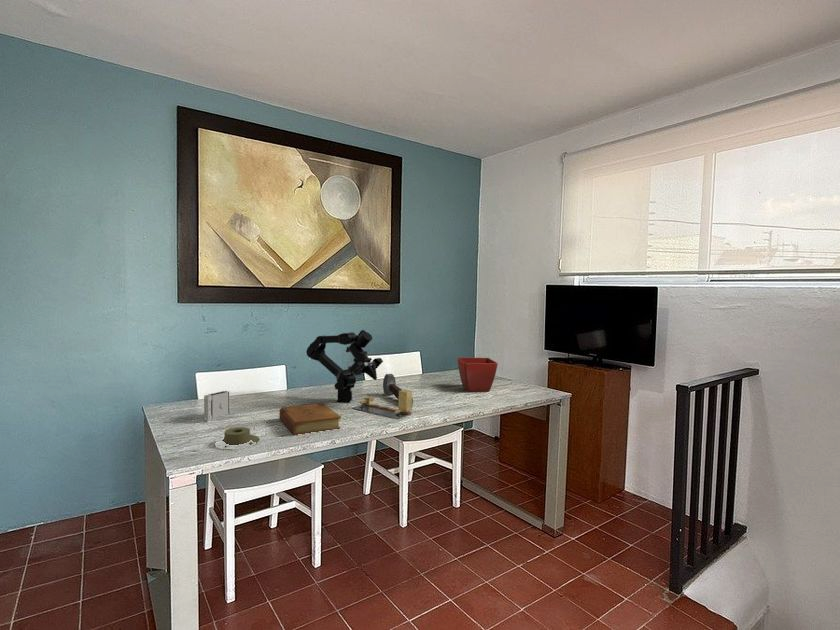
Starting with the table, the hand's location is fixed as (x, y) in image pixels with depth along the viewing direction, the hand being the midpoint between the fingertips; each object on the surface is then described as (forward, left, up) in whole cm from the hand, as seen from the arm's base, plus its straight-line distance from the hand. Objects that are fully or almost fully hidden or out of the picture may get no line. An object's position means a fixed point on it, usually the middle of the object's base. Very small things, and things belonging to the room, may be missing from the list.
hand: (375, 379), depth 210 cm
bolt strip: (+3, -8, -13) cm, 16 cm away
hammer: (+10, +15, -14) cm, 23 cm away
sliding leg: (+13, -12, -12) cm, 22 cm away
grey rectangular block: (-66, -22, -14) cm, 71 cm away
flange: (-45, -51, -14) cm, 69 cm away
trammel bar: (+4, -5, -13) cm, 15 cm away
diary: (-25, -28, -14) cm, 40 cm away
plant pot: (+53, +44, -14) cm, 71 cm away
